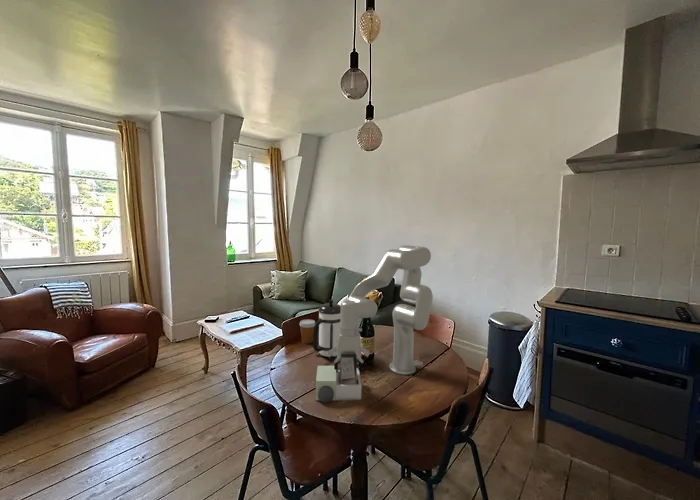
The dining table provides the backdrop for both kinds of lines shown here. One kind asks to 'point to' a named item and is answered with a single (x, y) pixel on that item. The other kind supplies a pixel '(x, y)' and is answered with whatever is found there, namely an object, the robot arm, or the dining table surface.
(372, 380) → the dining table surface
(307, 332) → the disposable coffee cup
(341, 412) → the dining table surface
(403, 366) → the robot arm
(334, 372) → the pale green boxy shape
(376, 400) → the dining table surface
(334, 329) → the coffee press
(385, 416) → the dining table surface
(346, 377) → the coffee box
